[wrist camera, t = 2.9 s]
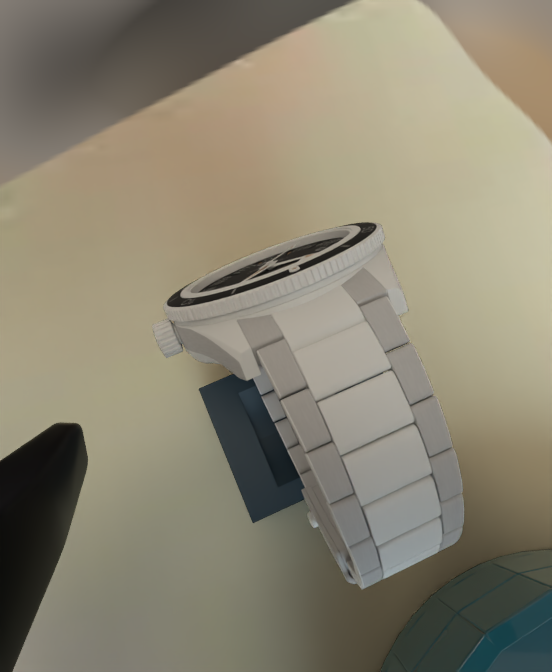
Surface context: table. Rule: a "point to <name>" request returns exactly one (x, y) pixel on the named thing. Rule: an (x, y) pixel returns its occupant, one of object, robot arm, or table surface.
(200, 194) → the table surface
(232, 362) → the watch
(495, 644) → the bowl
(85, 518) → the table surface
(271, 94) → the table surface
